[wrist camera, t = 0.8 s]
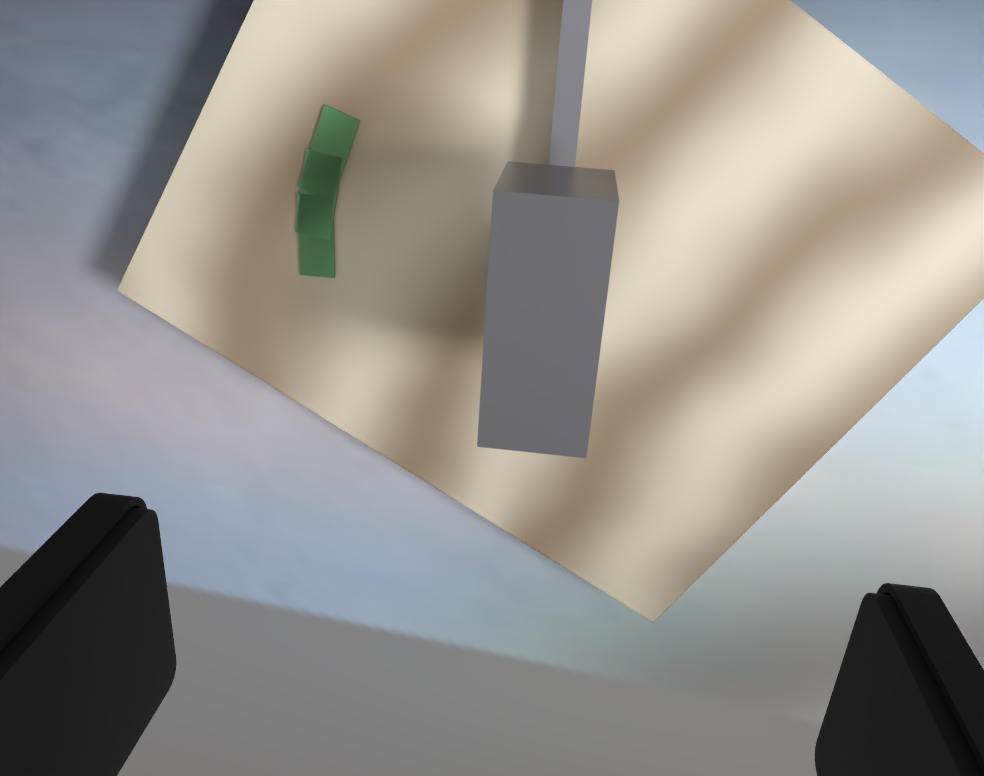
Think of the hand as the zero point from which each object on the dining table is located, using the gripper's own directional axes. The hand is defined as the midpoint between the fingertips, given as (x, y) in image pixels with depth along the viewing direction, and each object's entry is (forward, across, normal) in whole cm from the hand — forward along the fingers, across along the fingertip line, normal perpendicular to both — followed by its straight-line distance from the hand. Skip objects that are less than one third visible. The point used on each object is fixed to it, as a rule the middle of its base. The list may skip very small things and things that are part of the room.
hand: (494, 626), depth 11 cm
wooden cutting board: (+20, 0, 0) cm, 20 cm away
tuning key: (+18, 0, -3) cm, 18 cm away
